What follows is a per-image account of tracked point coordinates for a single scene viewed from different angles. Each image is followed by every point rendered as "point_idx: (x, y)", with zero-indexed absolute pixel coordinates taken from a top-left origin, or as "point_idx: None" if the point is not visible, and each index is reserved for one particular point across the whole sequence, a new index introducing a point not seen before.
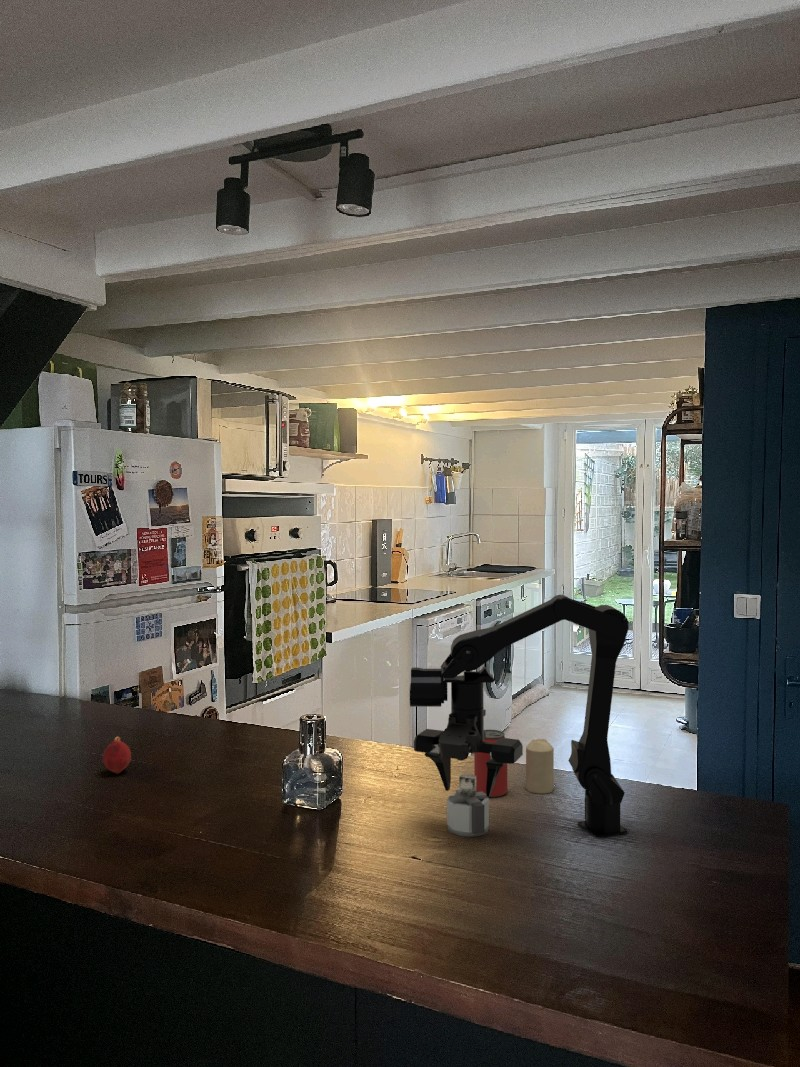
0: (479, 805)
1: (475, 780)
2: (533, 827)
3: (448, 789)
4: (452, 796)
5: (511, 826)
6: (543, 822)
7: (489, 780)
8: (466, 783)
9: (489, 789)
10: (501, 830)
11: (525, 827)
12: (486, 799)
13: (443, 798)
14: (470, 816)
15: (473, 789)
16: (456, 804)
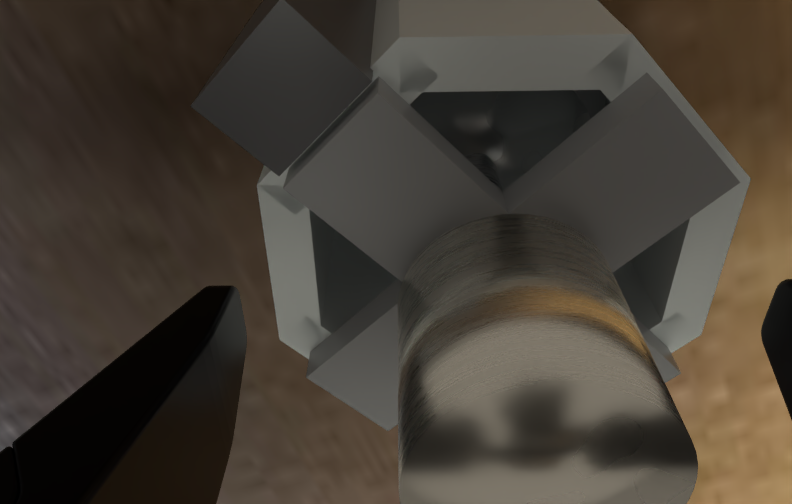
0: (242, 66)
1: (400, 450)
2: (61, 316)
3: (778, 305)
4: (688, 192)
5: (193, 280)
6: (55, 395)
7: (68, 442)
8: (520, 336)
9: (148, 340)
10: (220, 196)
11: (104, 298)
12: (294, 317)
13: (746, 476)
14: (384, 17)
15: (413, 320)
16: (587, 43)
